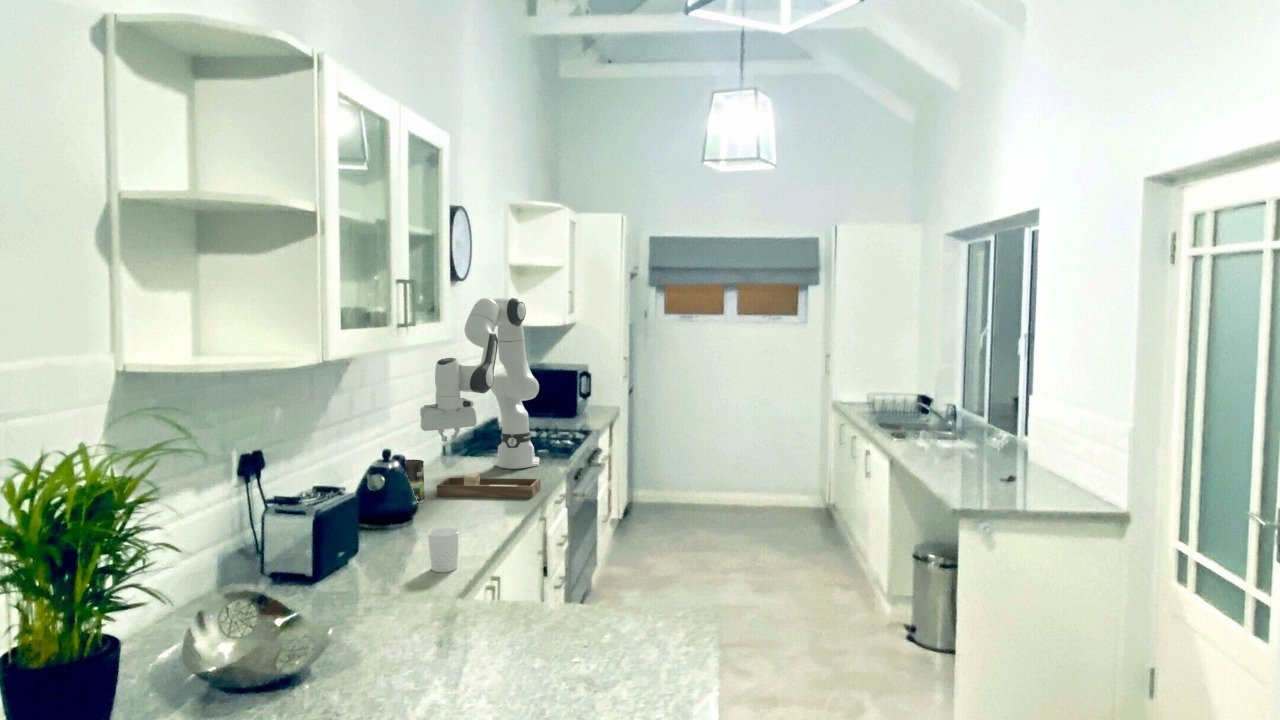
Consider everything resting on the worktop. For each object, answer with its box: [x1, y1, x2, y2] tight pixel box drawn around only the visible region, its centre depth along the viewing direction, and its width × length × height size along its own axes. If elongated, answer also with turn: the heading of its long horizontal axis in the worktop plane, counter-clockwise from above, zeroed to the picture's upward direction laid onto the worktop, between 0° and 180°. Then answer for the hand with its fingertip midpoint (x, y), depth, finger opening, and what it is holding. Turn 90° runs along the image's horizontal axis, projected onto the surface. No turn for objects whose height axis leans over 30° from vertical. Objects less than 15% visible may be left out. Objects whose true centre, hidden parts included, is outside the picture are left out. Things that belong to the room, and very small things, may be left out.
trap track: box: [436, 477, 541, 499], centre depth 320 cm, size 13×35×4 cm, turn 84°
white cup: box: [427, 527, 460, 573], centre depth 234 cm, size 8×8×10 cm
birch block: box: [463, 473, 481, 486], centre depth 321 cm, size 4×4×4 cm
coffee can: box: [404, 459, 426, 505], centre depth 308 cm, size 10×10×14 cm
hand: (449, 440), depth 320 cm, fingers open, 2 cm apart
